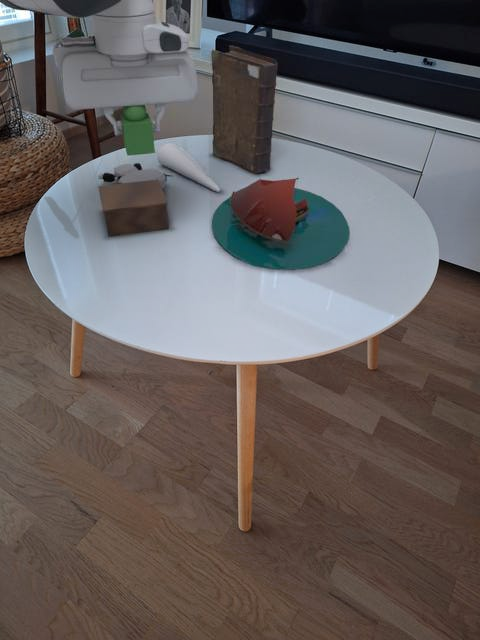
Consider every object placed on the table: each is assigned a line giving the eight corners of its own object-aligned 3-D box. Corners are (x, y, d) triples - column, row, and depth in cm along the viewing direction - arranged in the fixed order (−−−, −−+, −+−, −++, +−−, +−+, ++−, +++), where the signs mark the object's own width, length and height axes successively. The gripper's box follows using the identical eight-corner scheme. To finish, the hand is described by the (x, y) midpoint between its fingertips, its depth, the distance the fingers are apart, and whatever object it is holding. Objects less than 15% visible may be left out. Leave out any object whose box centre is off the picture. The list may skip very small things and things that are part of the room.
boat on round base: (187, 216, 98) (184, 168, 90) (293, 180, 109) (298, 134, 101) (261, 295, 83) (265, 246, 74) (376, 245, 93) (391, 196, 85)
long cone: (197, 206, 105) (156, 166, 115) (220, 201, 108) (178, 163, 118) (200, 183, 101) (157, 144, 111) (224, 179, 105) (180, 141, 114)
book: (273, 171, 116) (282, 60, 99) (251, 178, 113) (257, 64, 96) (232, 149, 125) (233, 44, 109) (210, 155, 122) (209, 48, 105)
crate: (107, 237, 91) (102, 210, 87) (103, 212, 99) (98, 185, 95) (169, 229, 94) (167, 202, 90) (160, 205, 102) (158, 179, 98)
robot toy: (96, 188, 108) (131, 208, 99) (92, 169, 105) (127, 188, 96) (141, 174, 114) (177, 192, 106) (138, 155, 111) (175, 172, 103)
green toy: (127, 155, 75) (119, 104, 70) (124, 145, 78) (117, 95, 73) (155, 153, 76) (149, 102, 71) (151, 142, 79) (145, 93, 74)
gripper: (49, 43, 62) (72, 145, 71) (199, 37, 66) (202, 134, 76) (49, 33, 66) (71, 130, 75) (189, 28, 71) (193, 121, 80)
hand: (137, 132), depth 76 cm, fingers closed on green toy, 4 cm apart
